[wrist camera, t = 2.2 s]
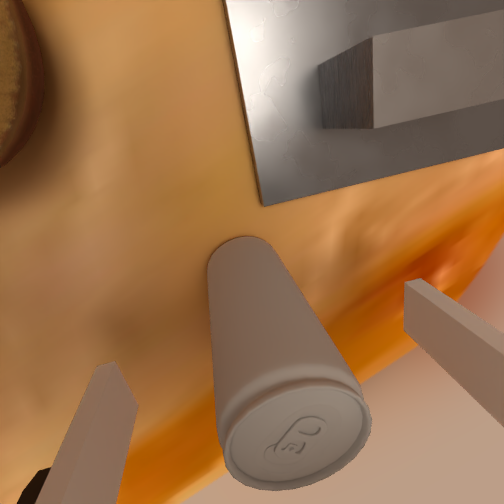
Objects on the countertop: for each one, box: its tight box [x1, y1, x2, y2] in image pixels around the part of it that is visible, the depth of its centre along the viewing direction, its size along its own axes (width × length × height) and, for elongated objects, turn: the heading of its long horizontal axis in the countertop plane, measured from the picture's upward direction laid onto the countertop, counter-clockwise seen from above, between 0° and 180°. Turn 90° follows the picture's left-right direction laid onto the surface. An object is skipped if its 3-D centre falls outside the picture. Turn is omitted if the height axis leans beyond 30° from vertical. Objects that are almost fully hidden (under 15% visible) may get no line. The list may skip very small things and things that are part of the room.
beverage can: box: [207, 236, 372, 491], centre depth 14 cm, size 5×5×12 cm
